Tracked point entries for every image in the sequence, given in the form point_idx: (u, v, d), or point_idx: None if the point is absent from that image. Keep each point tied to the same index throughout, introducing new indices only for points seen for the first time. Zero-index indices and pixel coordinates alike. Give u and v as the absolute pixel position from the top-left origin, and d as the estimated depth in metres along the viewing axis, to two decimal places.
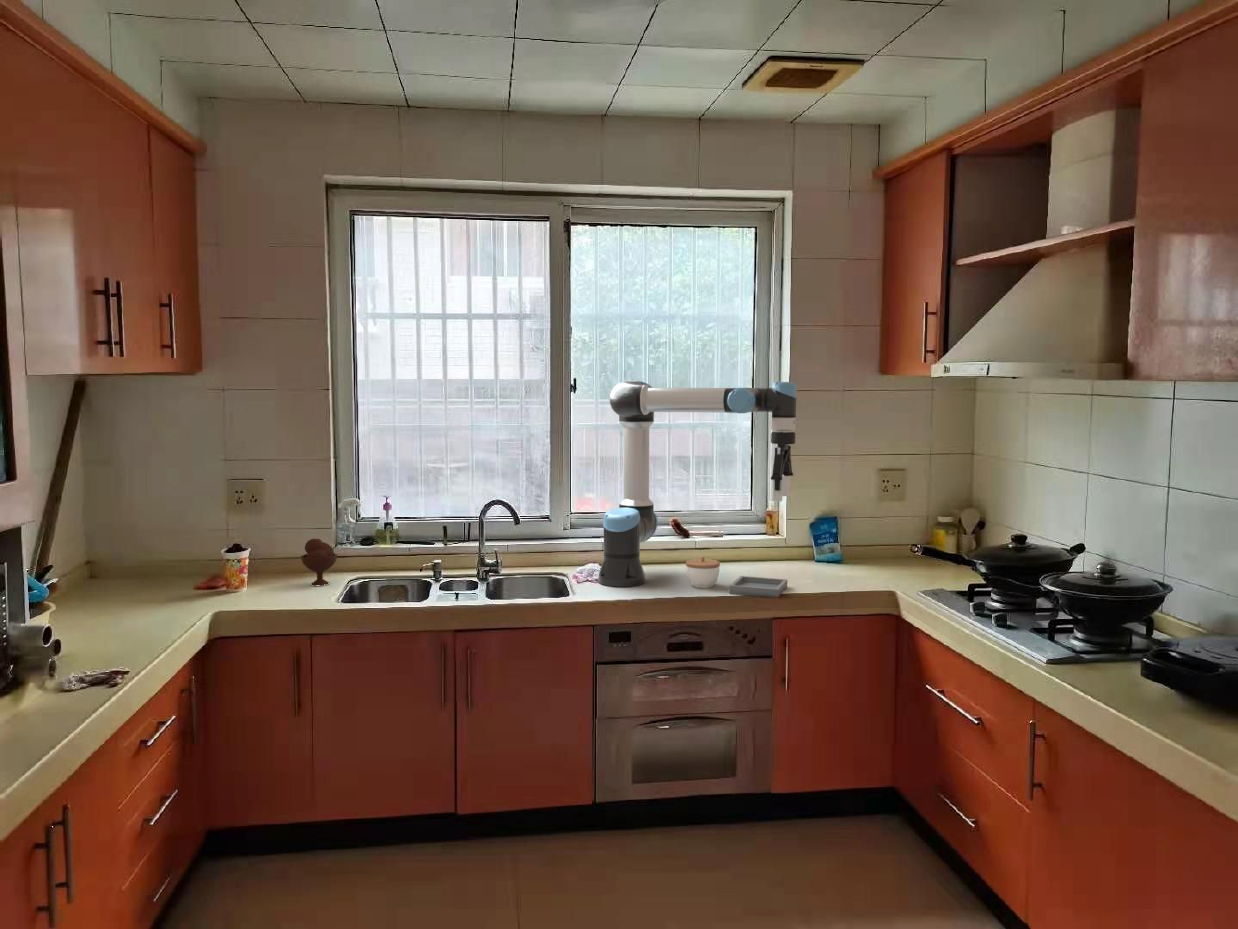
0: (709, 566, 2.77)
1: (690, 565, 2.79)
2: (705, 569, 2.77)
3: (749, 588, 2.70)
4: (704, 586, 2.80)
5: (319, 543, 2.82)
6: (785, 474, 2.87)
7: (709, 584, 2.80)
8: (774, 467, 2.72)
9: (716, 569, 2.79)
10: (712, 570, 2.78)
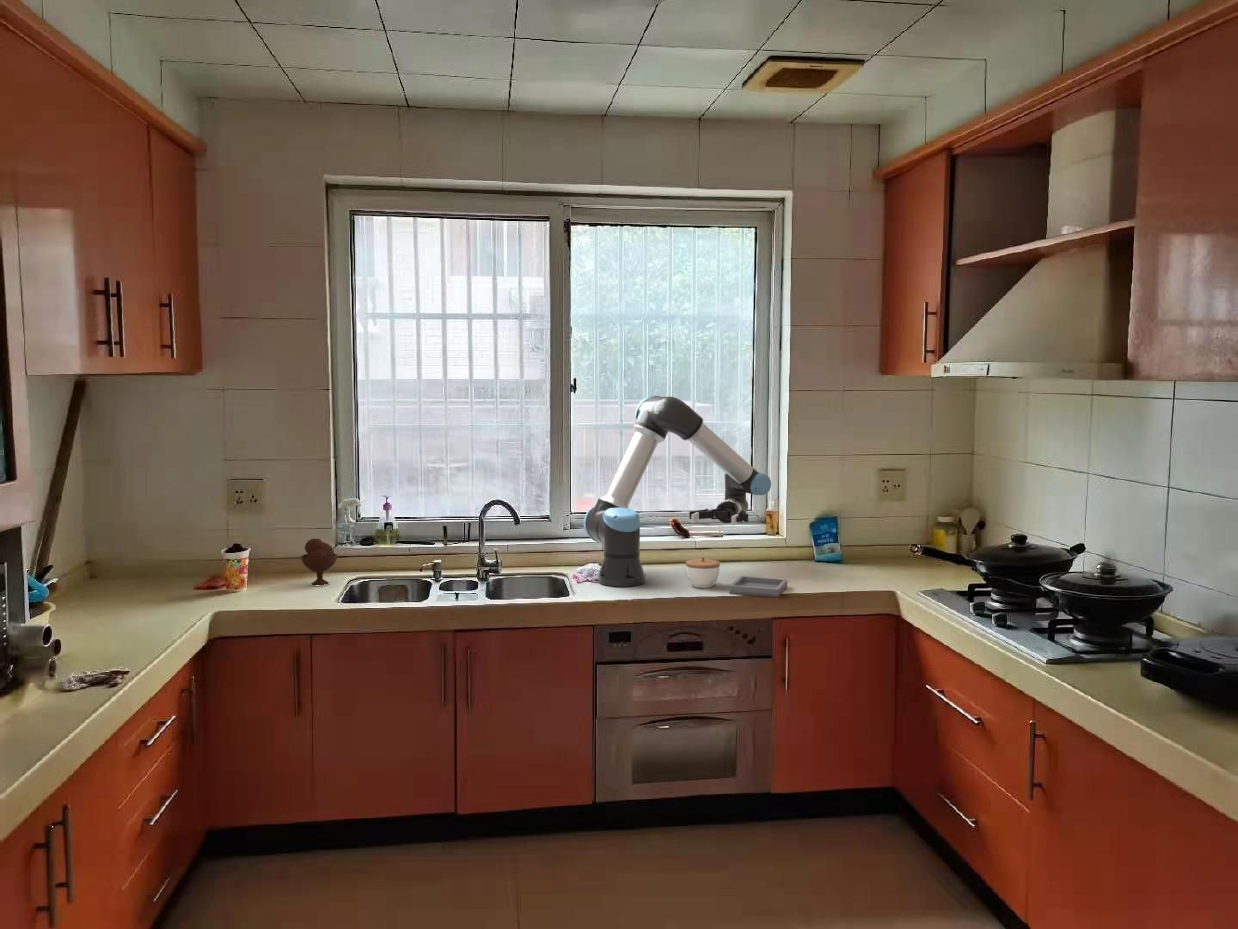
0: (709, 566, 2.78)
1: (690, 565, 2.79)
2: (705, 569, 2.77)
3: (749, 588, 2.70)
4: (704, 586, 2.80)
5: (319, 543, 2.82)
6: None
7: (709, 584, 2.80)
8: None
9: (716, 569, 2.79)
10: (712, 570, 2.78)
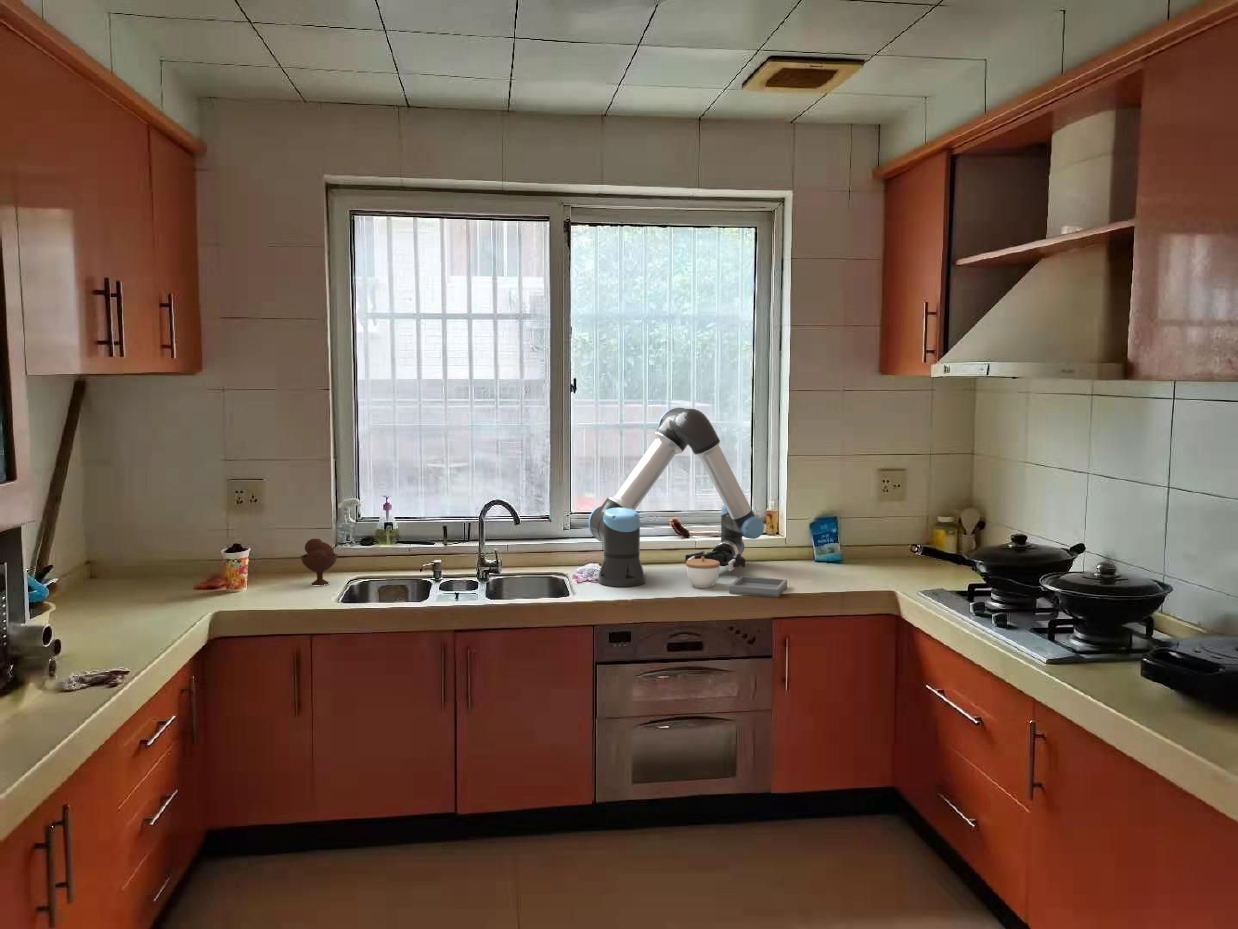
0: (709, 566, 2.77)
1: (690, 565, 2.79)
2: (705, 569, 2.77)
3: (749, 588, 2.70)
4: (704, 586, 2.80)
5: (319, 543, 2.82)
6: None
7: (709, 584, 2.80)
8: None
9: (716, 569, 2.79)
10: (712, 570, 2.78)
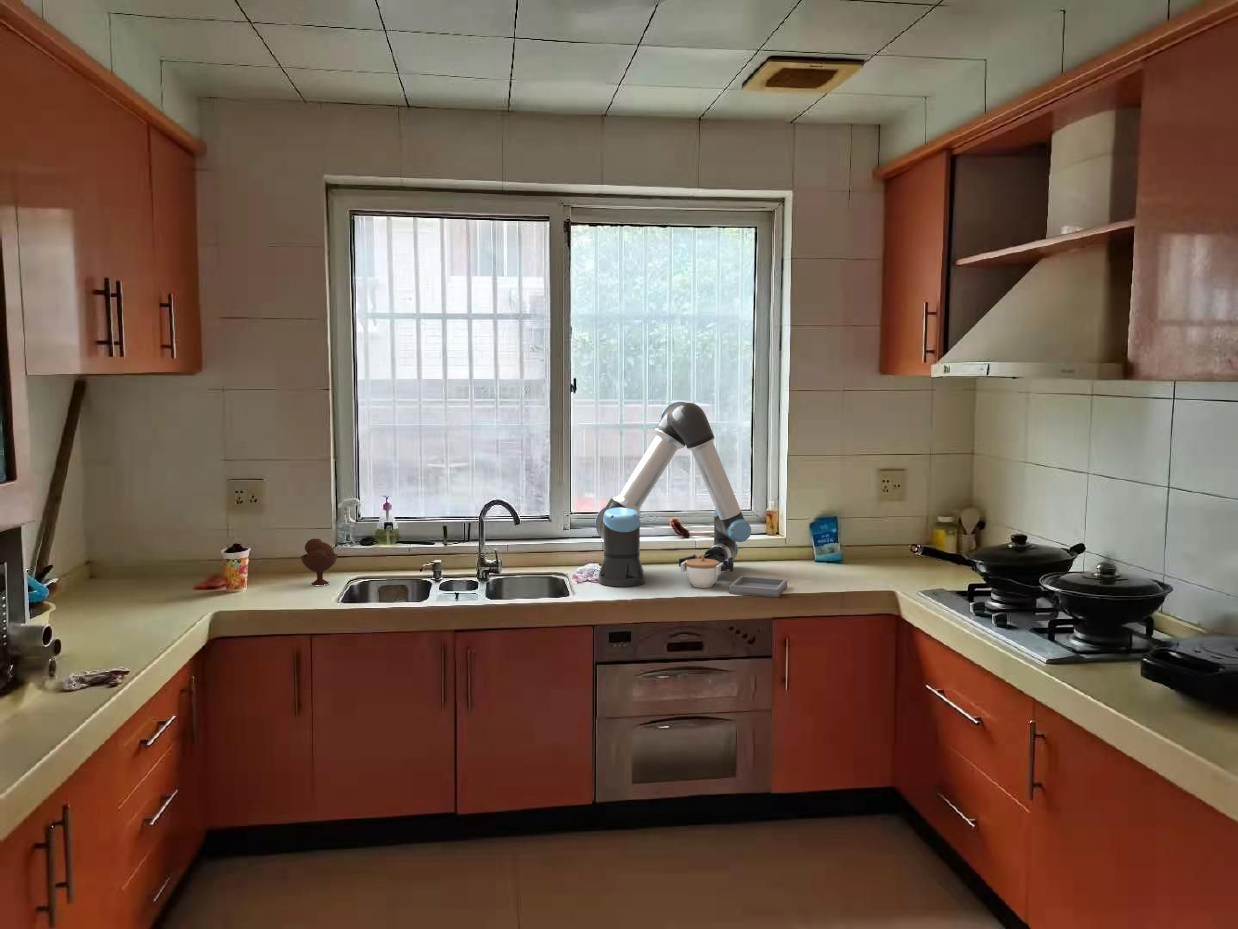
0: (709, 566, 2.78)
1: (690, 565, 2.79)
2: (705, 569, 2.77)
3: (749, 588, 2.70)
4: (704, 586, 2.80)
5: (319, 543, 2.82)
6: None
7: (709, 584, 2.80)
8: (732, 562, 2.86)
9: None
10: (712, 570, 2.78)
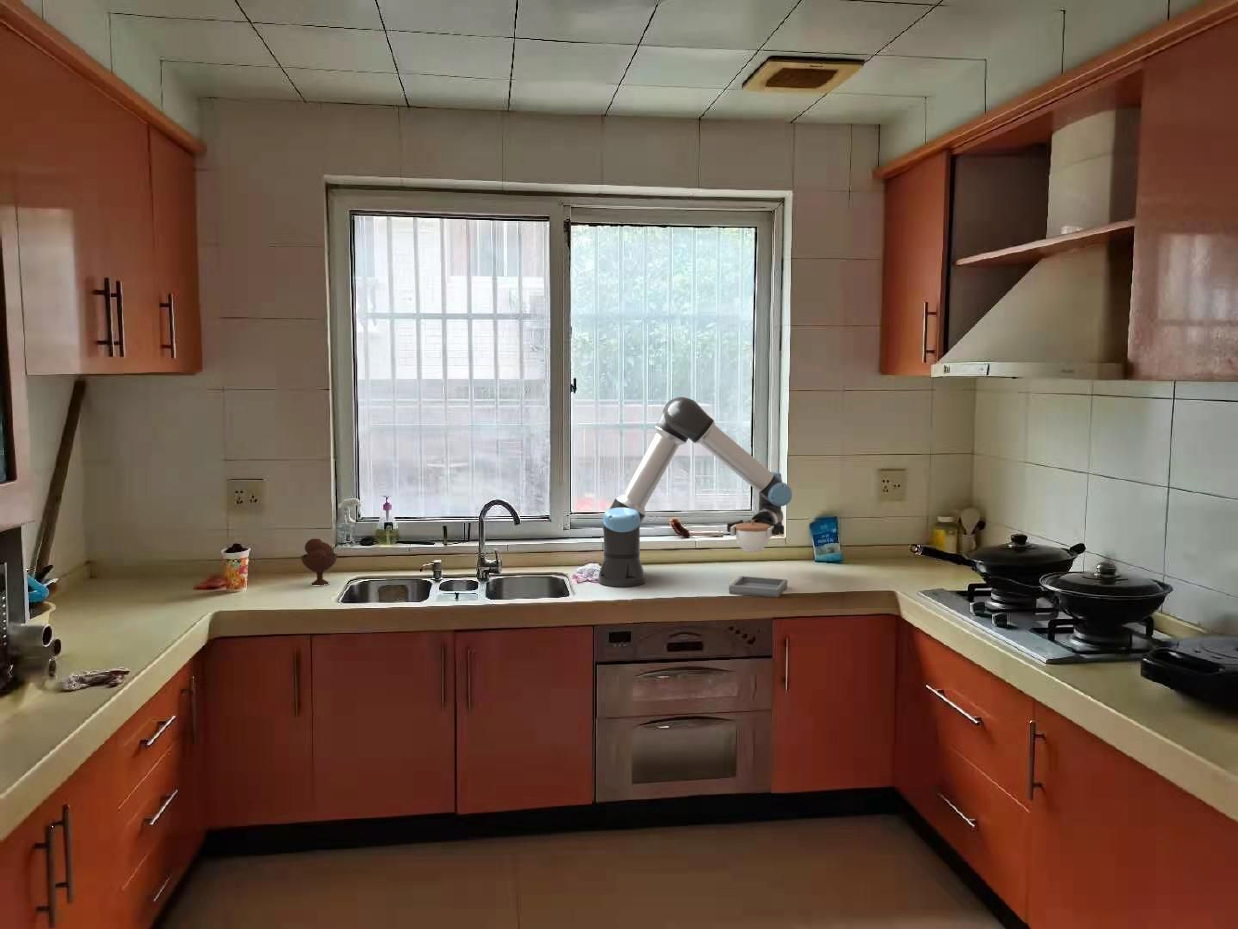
0: (760, 529, 2.71)
1: (740, 528, 2.73)
2: (756, 532, 2.71)
3: (749, 588, 2.70)
4: (755, 550, 2.74)
5: (319, 543, 2.82)
6: None
7: (760, 547, 2.74)
8: None
9: None
10: (763, 533, 2.72)
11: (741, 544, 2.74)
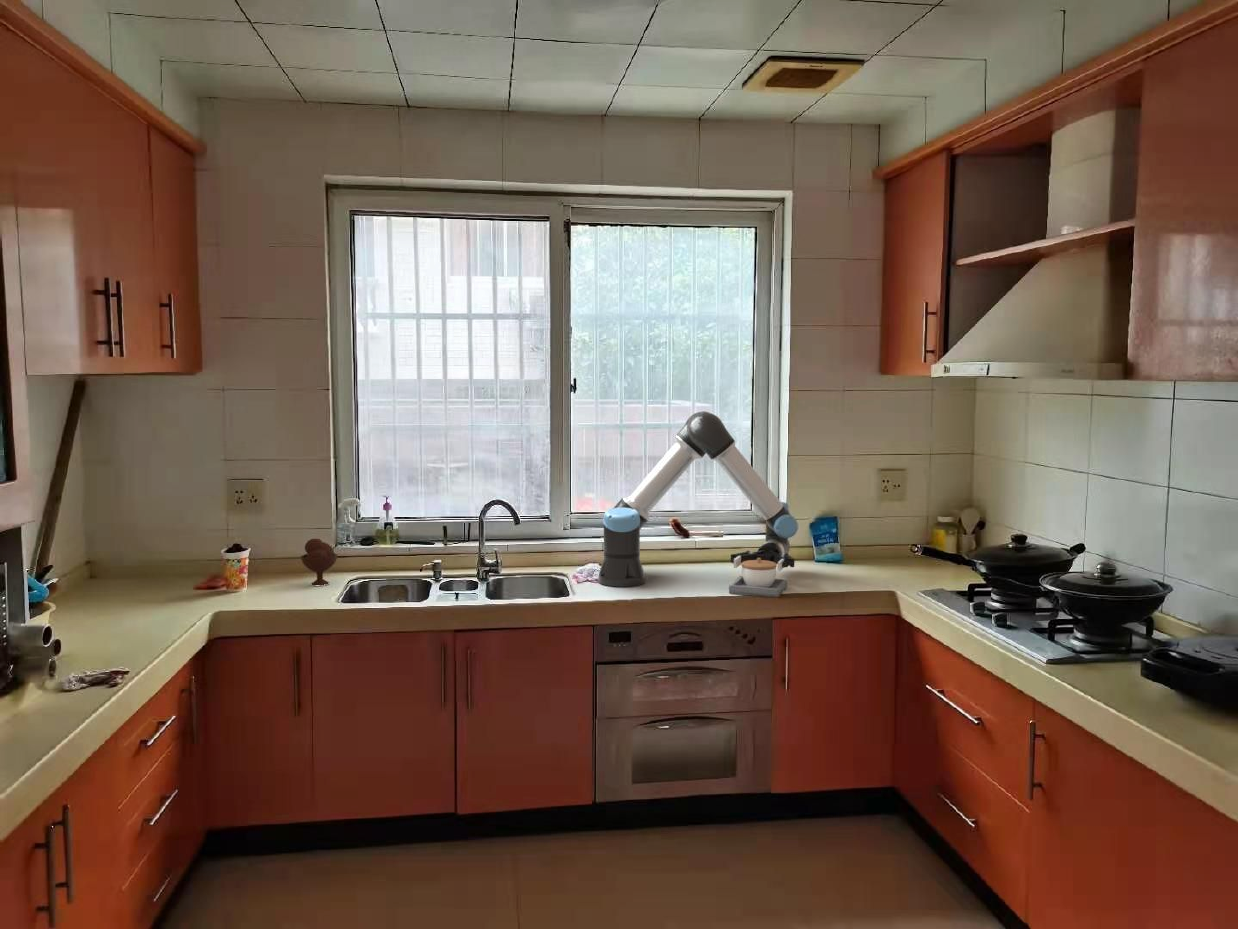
0: (766, 567, 2.71)
1: (747, 566, 2.73)
2: (762, 570, 2.71)
3: (749, 588, 2.70)
4: None
5: (319, 543, 2.82)
6: None
7: (766, 586, 2.73)
8: None
9: (773, 570, 2.73)
10: (769, 571, 2.72)
11: (747, 582, 2.74)
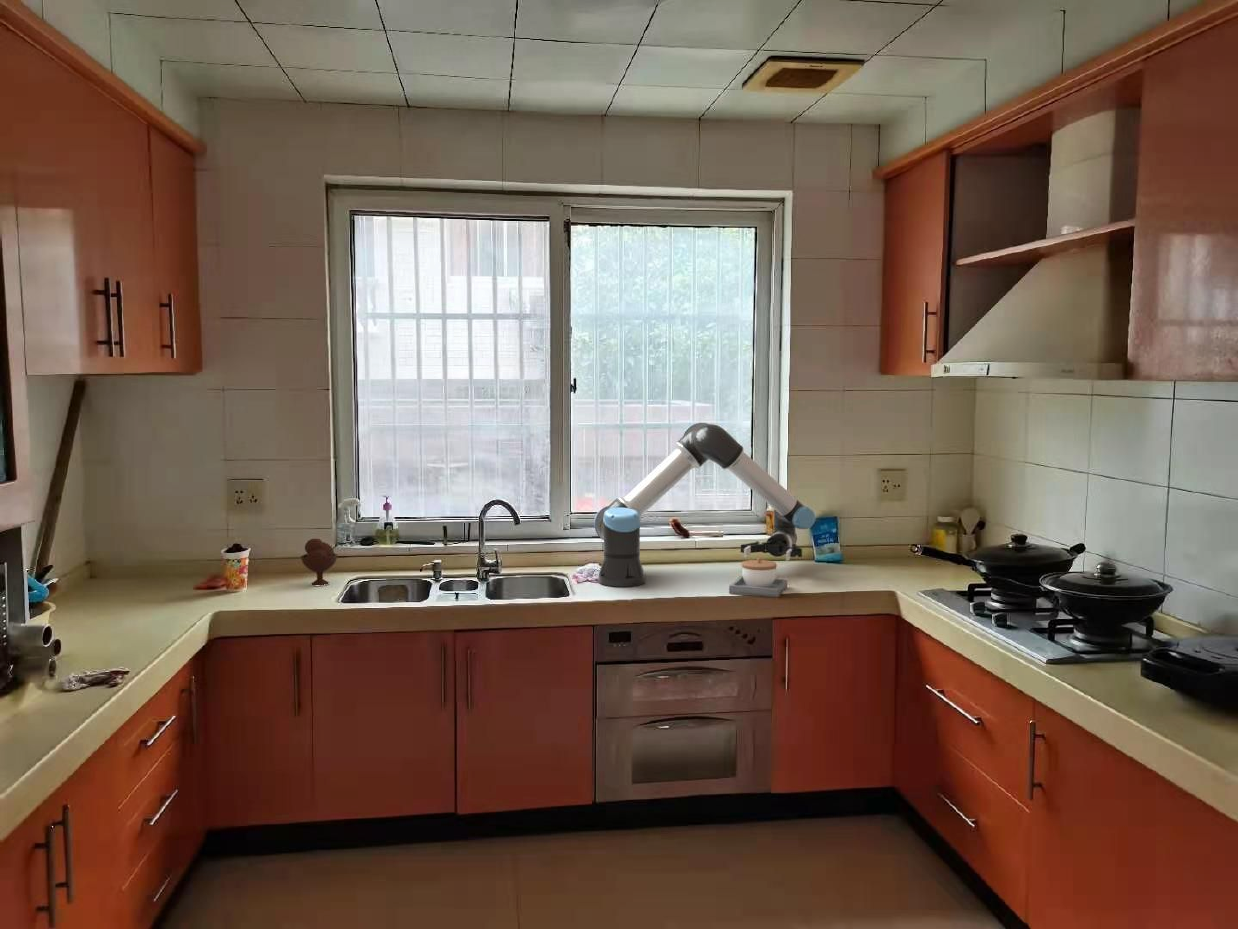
0: (766, 567, 2.71)
1: (747, 566, 2.73)
2: (762, 570, 2.71)
3: (749, 588, 2.70)
4: None
5: (319, 543, 2.82)
6: None
7: (766, 586, 2.73)
8: None
9: (773, 570, 2.73)
10: (769, 572, 2.72)
11: (747, 582, 2.74)
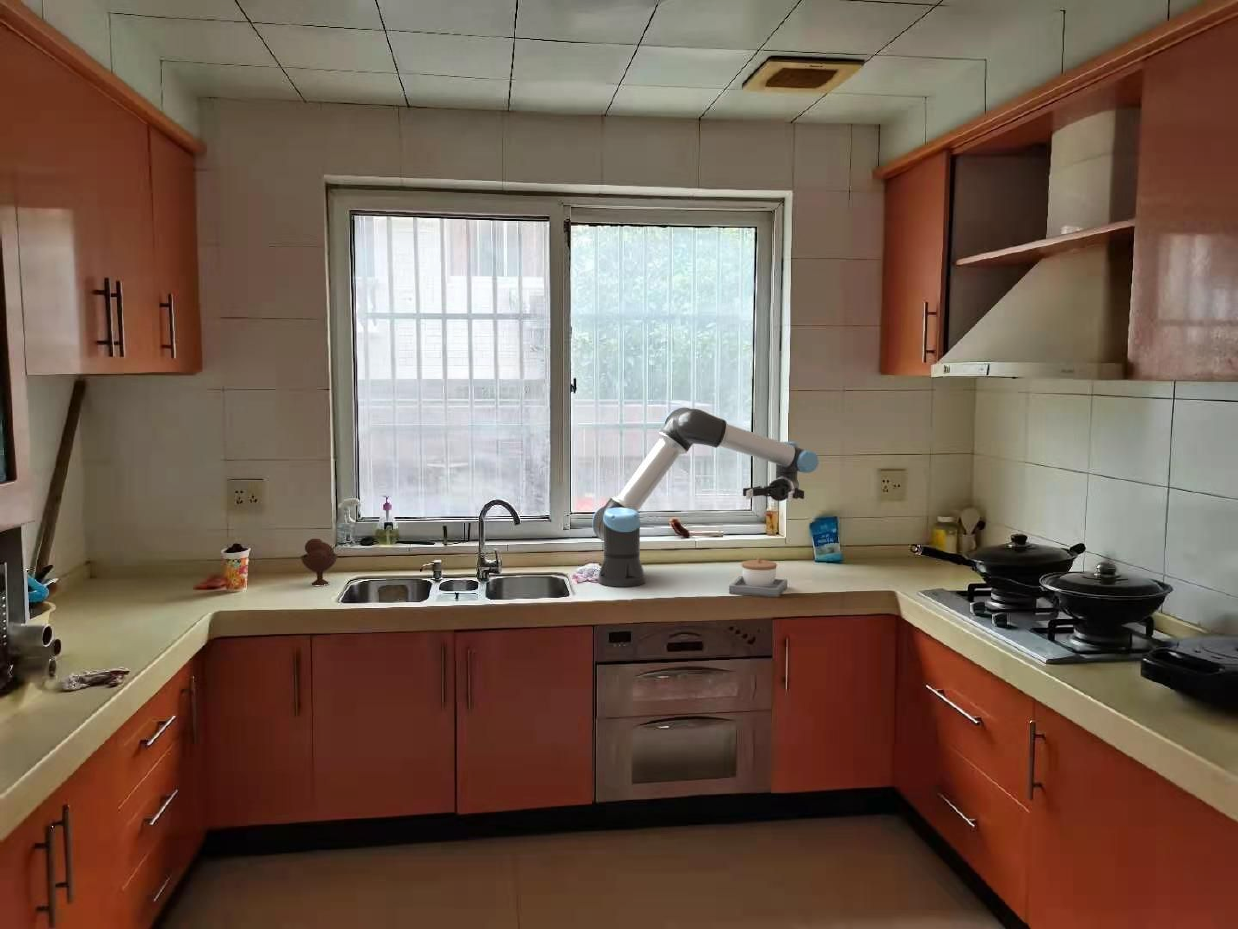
0: (766, 567, 2.71)
1: (747, 566, 2.73)
2: (762, 570, 2.71)
3: (749, 588, 2.70)
4: None
5: (319, 543, 2.82)
6: None
7: (766, 586, 2.73)
8: None
9: (773, 570, 2.73)
10: (769, 571, 2.72)
11: (747, 582, 2.74)
